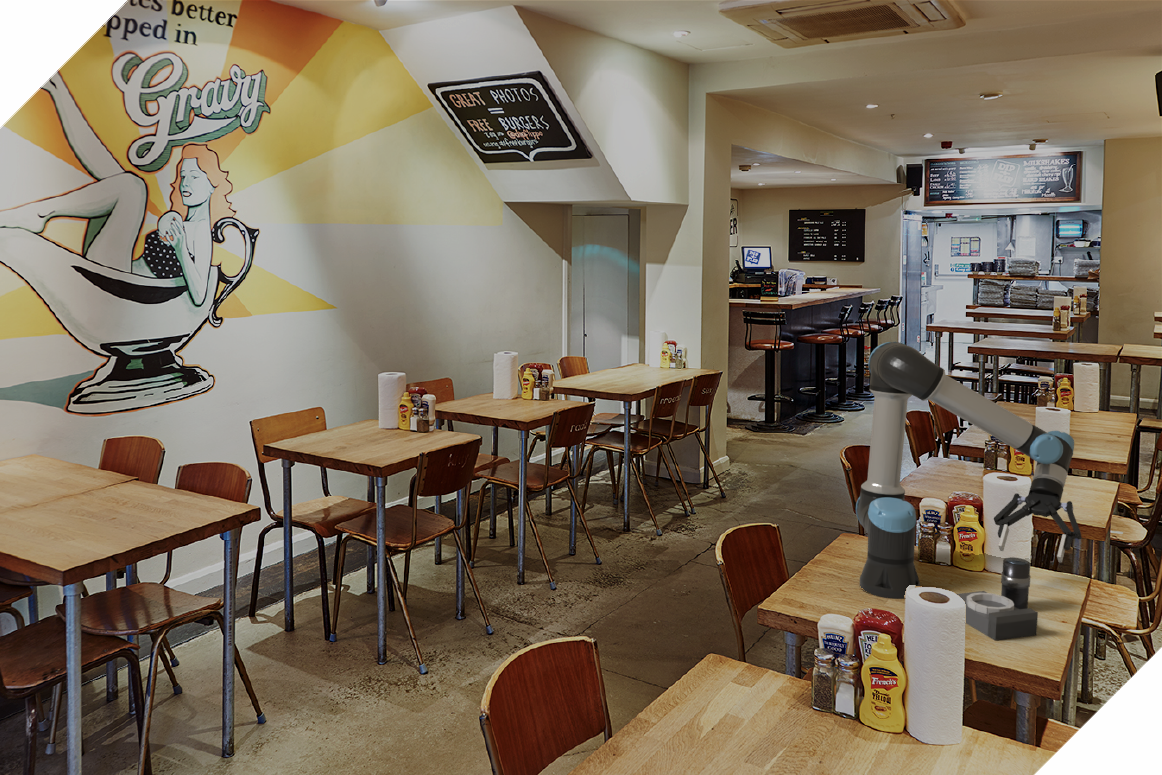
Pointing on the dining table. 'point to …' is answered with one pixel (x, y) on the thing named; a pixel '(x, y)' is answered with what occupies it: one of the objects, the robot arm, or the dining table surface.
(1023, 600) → the lens
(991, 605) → the camera body
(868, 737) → the dining table surface
